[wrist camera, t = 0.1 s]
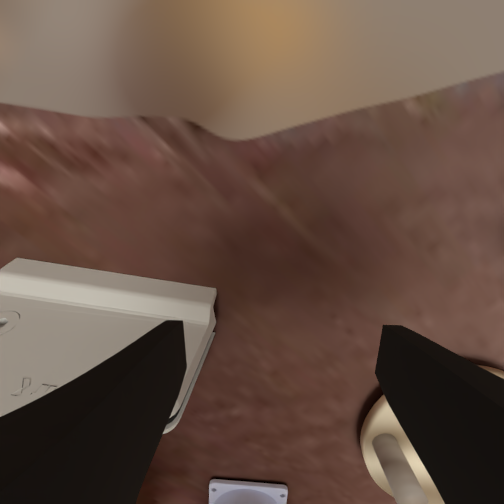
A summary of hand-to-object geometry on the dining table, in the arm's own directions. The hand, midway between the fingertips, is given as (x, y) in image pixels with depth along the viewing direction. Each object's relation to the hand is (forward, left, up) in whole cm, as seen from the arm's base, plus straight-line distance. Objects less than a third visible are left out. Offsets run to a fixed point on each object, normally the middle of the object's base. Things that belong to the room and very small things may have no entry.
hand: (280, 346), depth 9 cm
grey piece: (-6, +12, -10) cm, 17 cm away
